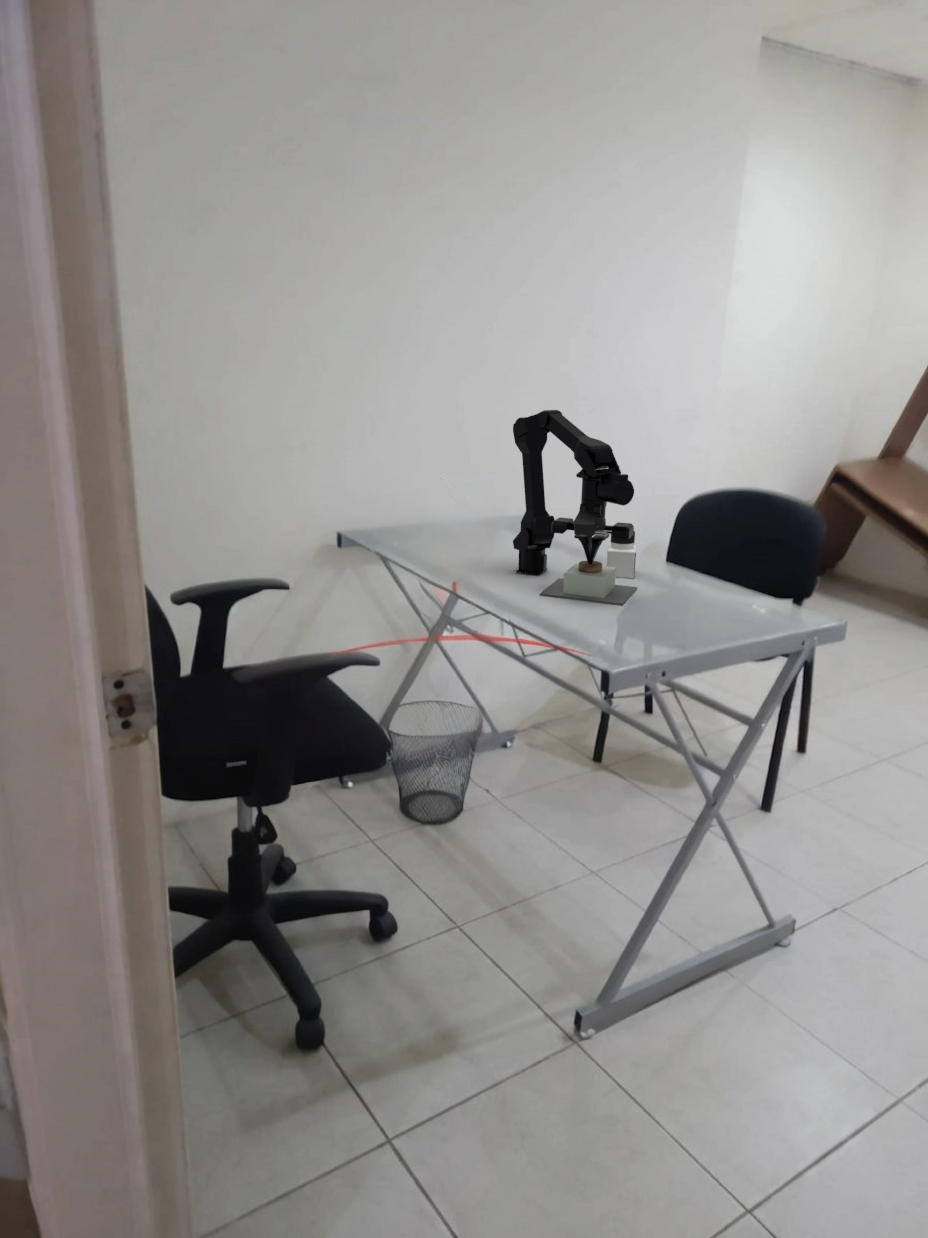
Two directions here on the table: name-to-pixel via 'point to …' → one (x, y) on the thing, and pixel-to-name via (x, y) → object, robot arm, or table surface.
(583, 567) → the plunger
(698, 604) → the table surface
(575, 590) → the press base
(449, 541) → the table surface
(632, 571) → the medicine bottle
